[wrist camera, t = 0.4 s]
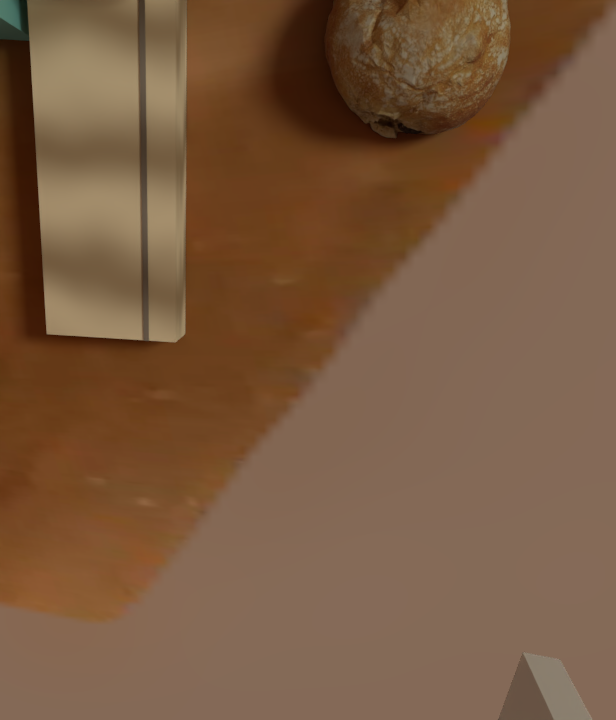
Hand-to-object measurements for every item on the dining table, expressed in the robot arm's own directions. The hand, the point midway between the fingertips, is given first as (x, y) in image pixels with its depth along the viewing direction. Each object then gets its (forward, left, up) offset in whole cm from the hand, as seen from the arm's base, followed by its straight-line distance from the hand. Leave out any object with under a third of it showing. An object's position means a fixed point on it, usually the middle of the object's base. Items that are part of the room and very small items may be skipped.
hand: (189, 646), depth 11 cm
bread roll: (-19, +7, -27) cm, 33 cm away
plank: (-12, -10, -26) cm, 31 cm away
